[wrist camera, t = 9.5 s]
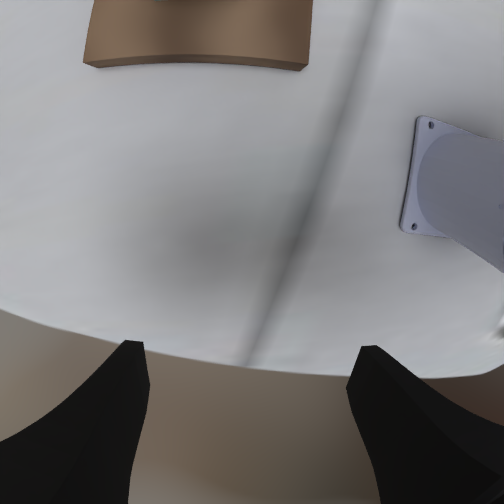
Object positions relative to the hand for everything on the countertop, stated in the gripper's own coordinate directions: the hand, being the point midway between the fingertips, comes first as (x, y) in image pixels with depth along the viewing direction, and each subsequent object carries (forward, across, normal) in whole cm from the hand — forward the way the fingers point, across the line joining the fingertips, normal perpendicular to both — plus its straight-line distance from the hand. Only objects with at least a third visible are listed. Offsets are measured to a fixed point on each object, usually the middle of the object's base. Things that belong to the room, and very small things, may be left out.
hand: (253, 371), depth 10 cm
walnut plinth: (+10, +4, -17) cm, 20 cm away
